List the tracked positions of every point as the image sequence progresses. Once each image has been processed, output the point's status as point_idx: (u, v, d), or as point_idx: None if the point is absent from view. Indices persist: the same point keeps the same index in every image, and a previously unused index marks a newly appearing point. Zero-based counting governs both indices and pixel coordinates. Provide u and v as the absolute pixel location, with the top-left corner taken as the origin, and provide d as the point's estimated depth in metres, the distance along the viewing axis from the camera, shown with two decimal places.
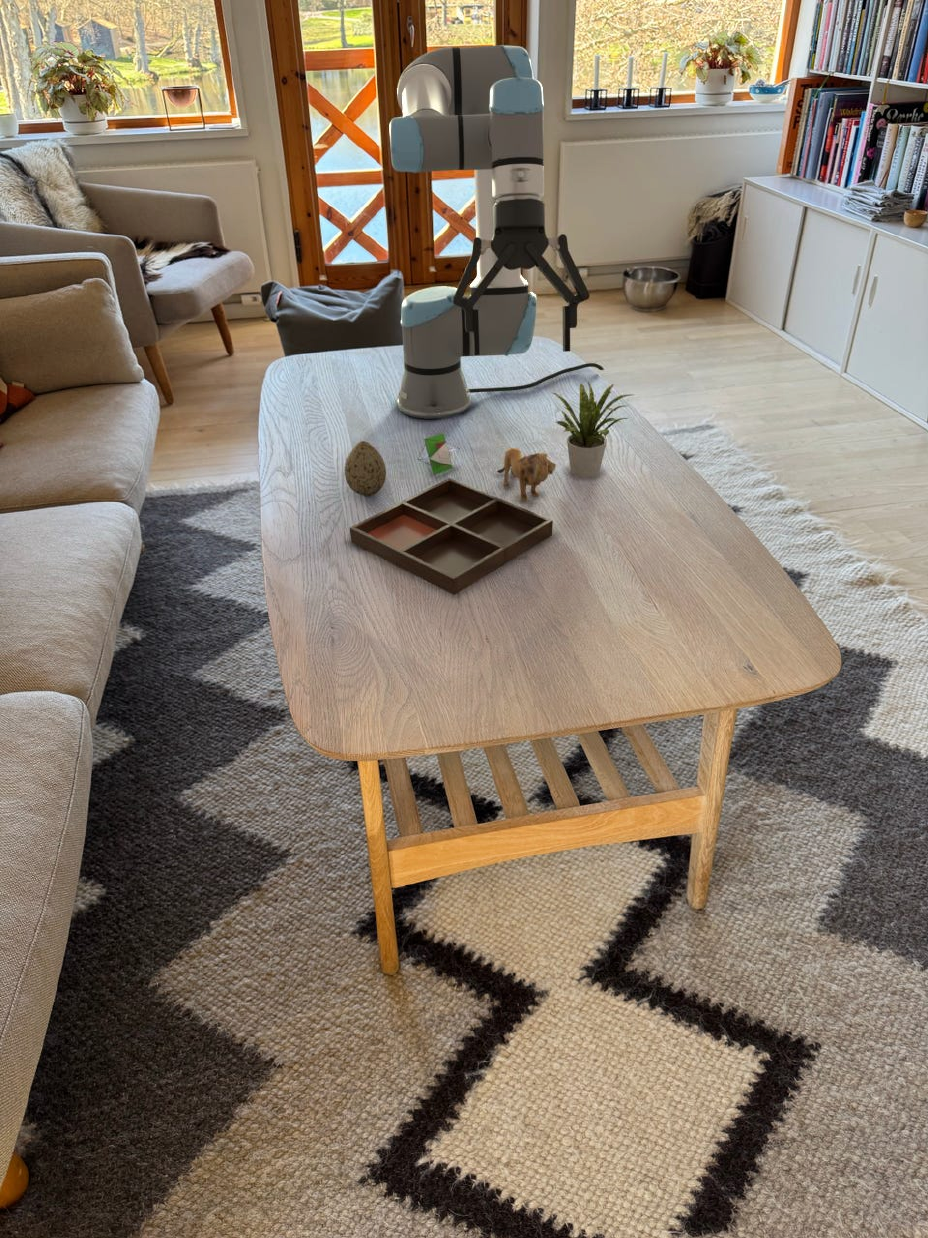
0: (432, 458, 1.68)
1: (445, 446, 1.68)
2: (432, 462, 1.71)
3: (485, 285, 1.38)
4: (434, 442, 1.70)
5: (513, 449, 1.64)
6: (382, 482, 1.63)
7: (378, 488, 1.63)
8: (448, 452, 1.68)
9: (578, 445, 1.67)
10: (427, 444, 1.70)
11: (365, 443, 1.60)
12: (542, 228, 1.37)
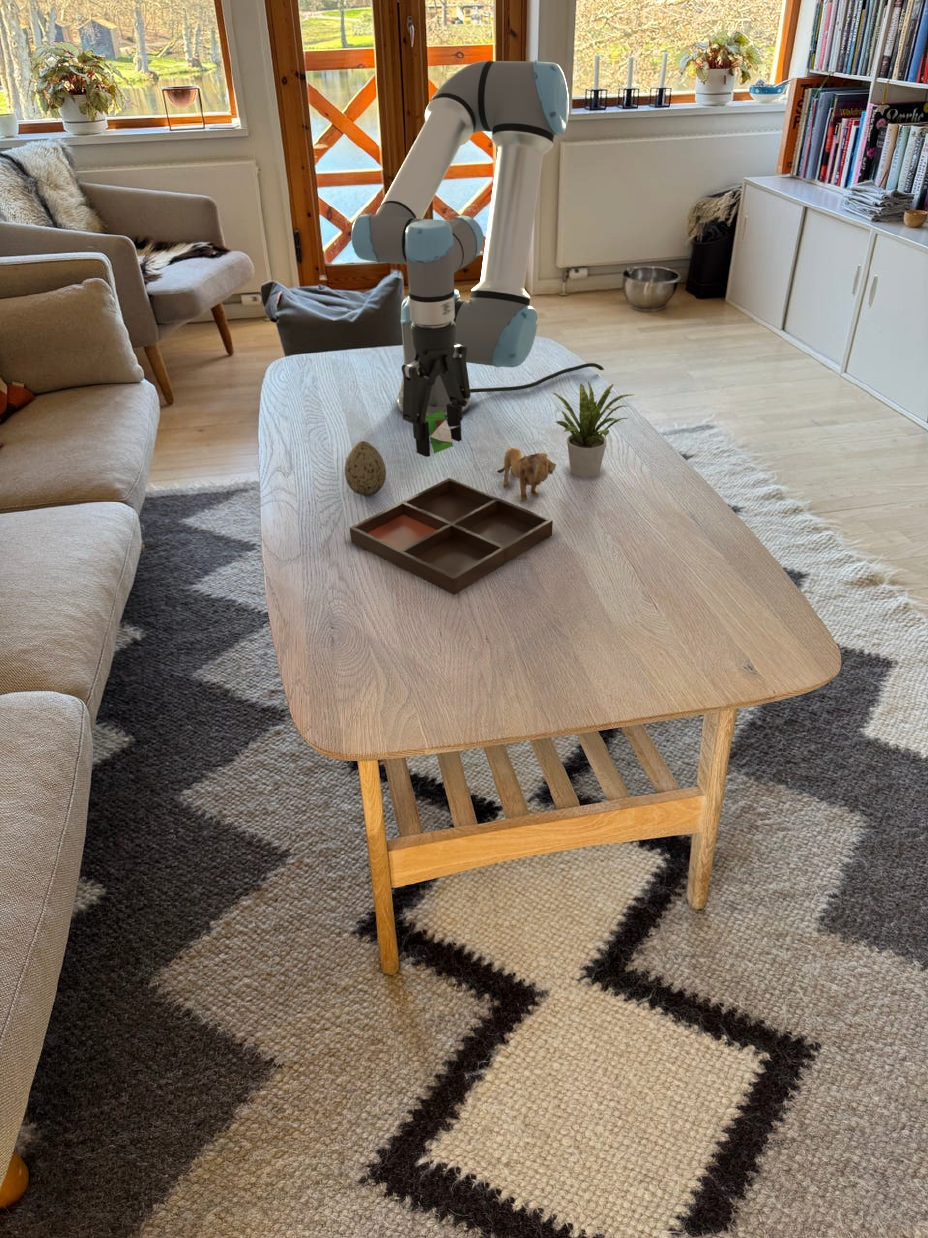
0: (432, 436, 1.66)
1: (445, 423, 1.66)
2: (432, 440, 1.69)
3: (427, 400, 1.62)
4: (433, 420, 1.68)
5: (513, 449, 1.64)
6: (382, 482, 1.63)
7: (378, 488, 1.63)
8: (448, 429, 1.66)
9: (578, 445, 1.67)
10: None
11: (365, 443, 1.60)
12: None
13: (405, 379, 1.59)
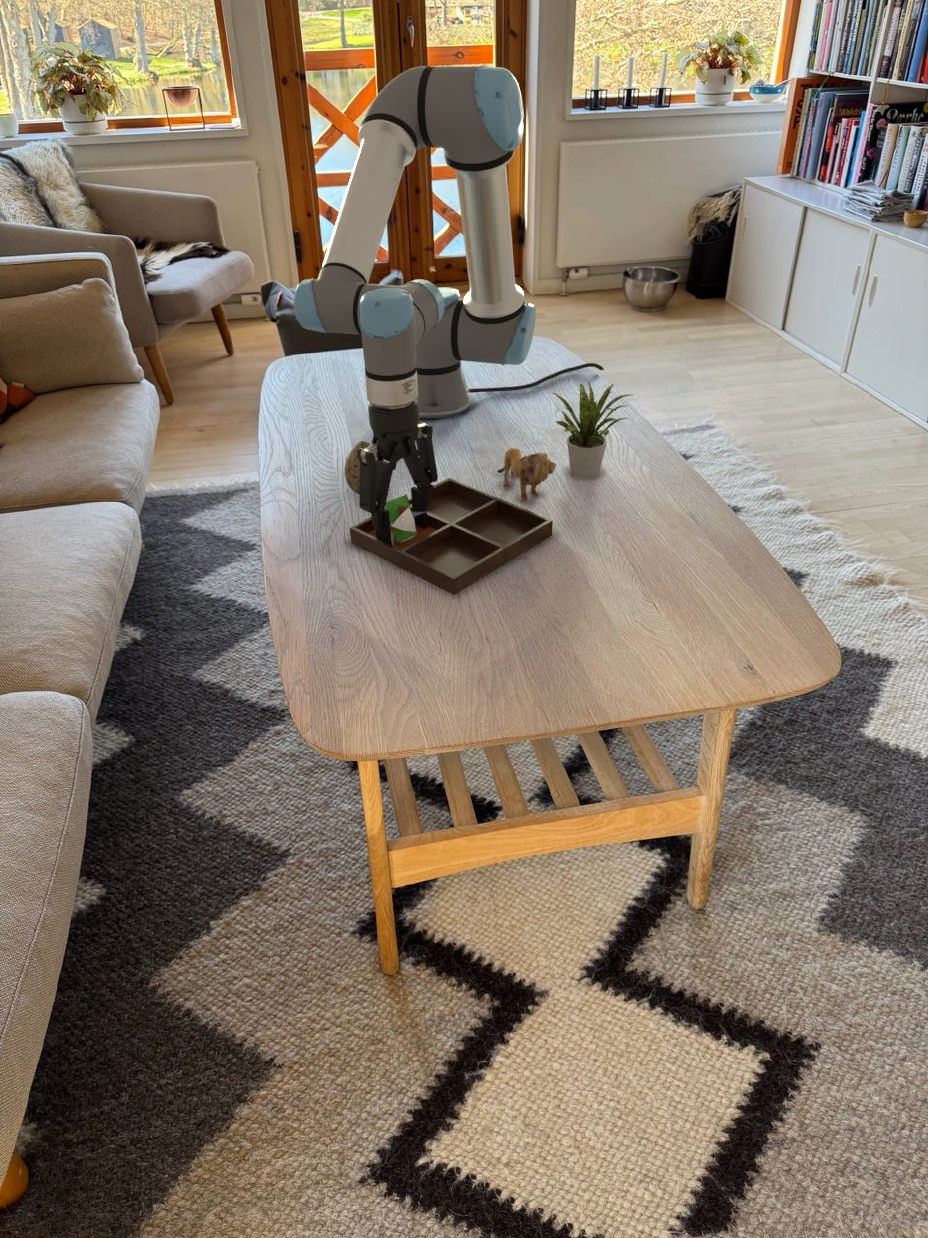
0: (393, 525, 1.47)
1: (408, 511, 1.47)
2: (394, 528, 1.50)
3: (387, 486, 1.43)
4: (396, 506, 1.49)
5: (513, 449, 1.64)
6: None
7: None
8: (412, 518, 1.47)
9: (578, 445, 1.67)
10: (388, 508, 1.49)
11: (365, 443, 1.60)
12: None
13: (361, 465, 1.40)
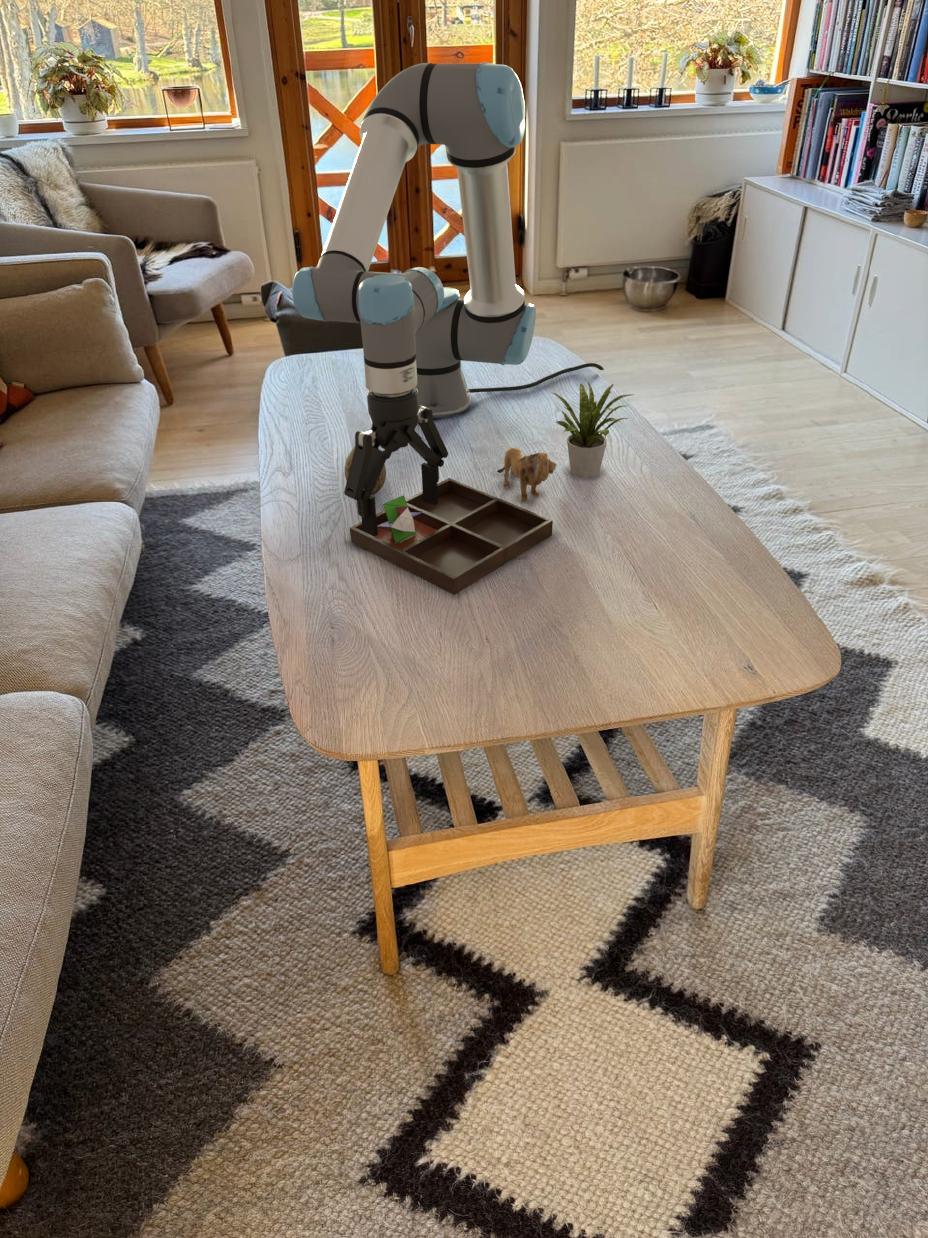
0: (393, 526, 1.47)
1: (407, 512, 1.47)
2: (392, 529, 1.50)
3: (377, 474, 1.41)
4: (393, 506, 1.49)
5: (513, 449, 1.64)
6: (382, 482, 1.63)
7: (378, 488, 1.63)
8: (411, 518, 1.47)
9: (578, 445, 1.67)
10: (386, 509, 1.49)
11: None
12: None
13: (356, 448, 1.38)
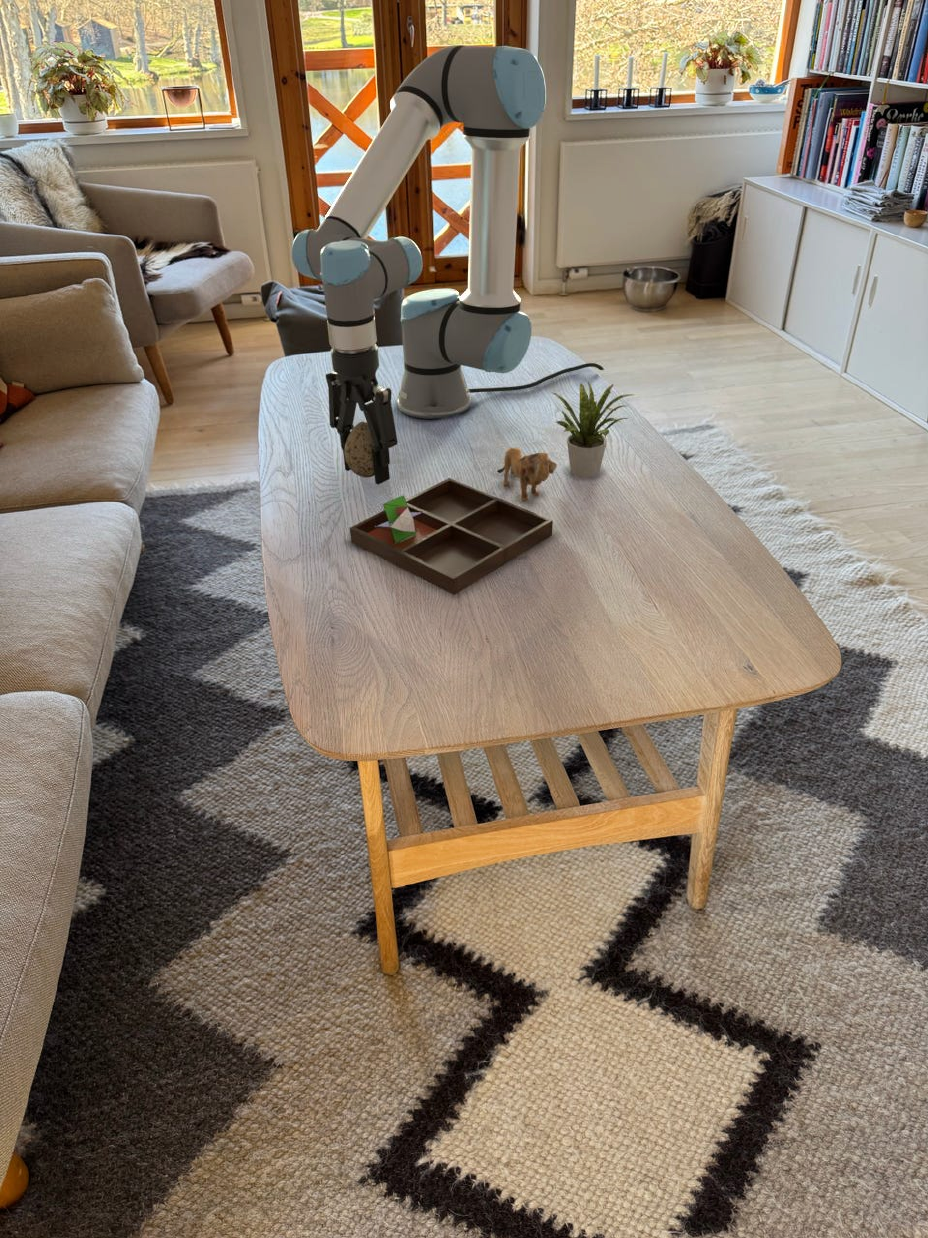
0: (393, 526, 1.47)
1: (407, 512, 1.47)
2: (393, 529, 1.50)
3: None
4: (393, 506, 1.49)
5: (513, 449, 1.64)
6: None
7: None
8: (411, 518, 1.47)
9: (578, 445, 1.67)
10: (386, 509, 1.49)
11: (365, 424, 1.58)
12: None
13: (382, 406, 1.52)
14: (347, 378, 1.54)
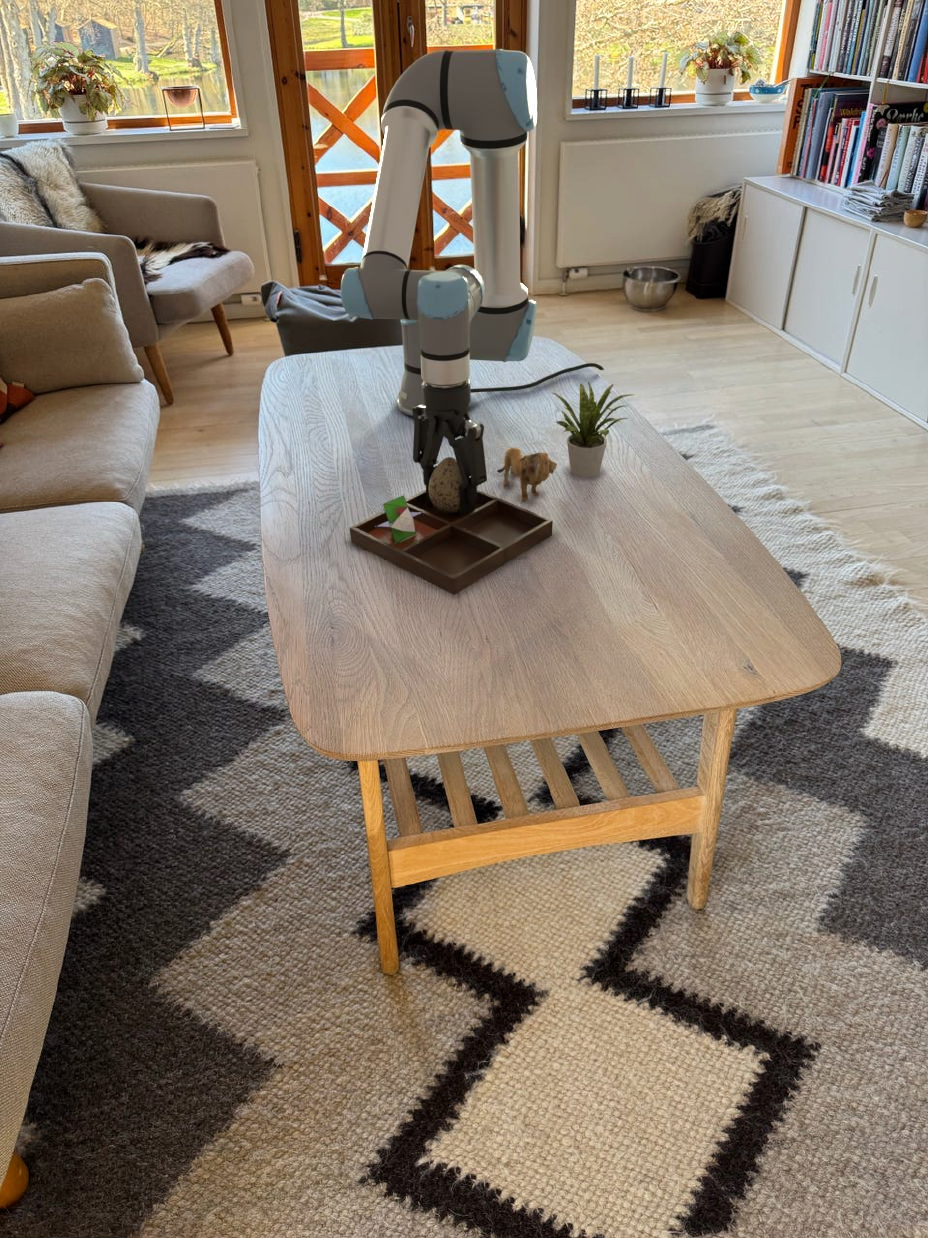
0: (393, 526, 1.47)
1: (407, 512, 1.47)
2: (392, 529, 1.50)
3: None
4: (393, 506, 1.49)
5: (513, 449, 1.64)
6: None
7: None
8: (411, 518, 1.47)
9: (578, 445, 1.67)
10: (386, 509, 1.49)
11: (452, 459, 1.53)
12: None
13: (474, 442, 1.46)
14: (437, 413, 1.49)
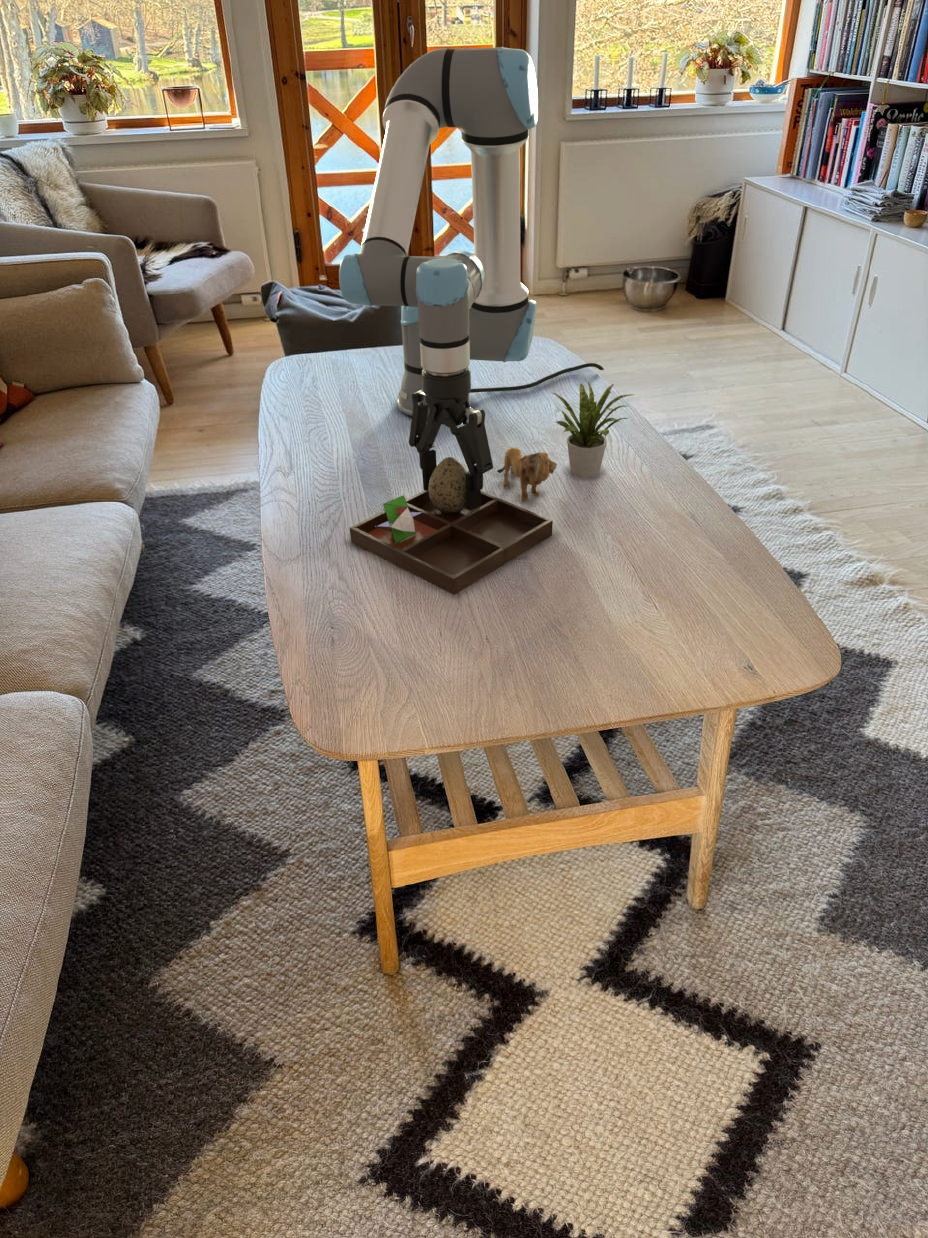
0: (393, 526, 1.47)
1: (407, 512, 1.47)
2: (393, 529, 1.50)
3: None
4: (393, 506, 1.49)
5: (513, 449, 1.64)
6: None
7: (464, 506, 1.56)
8: (411, 518, 1.47)
9: (578, 445, 1.67)
10: (386, 509, 1.49)
11: (452, 459, 1.53)
12: None
13: (476, 429, 1.45)
14: (437, 401, 1.48)
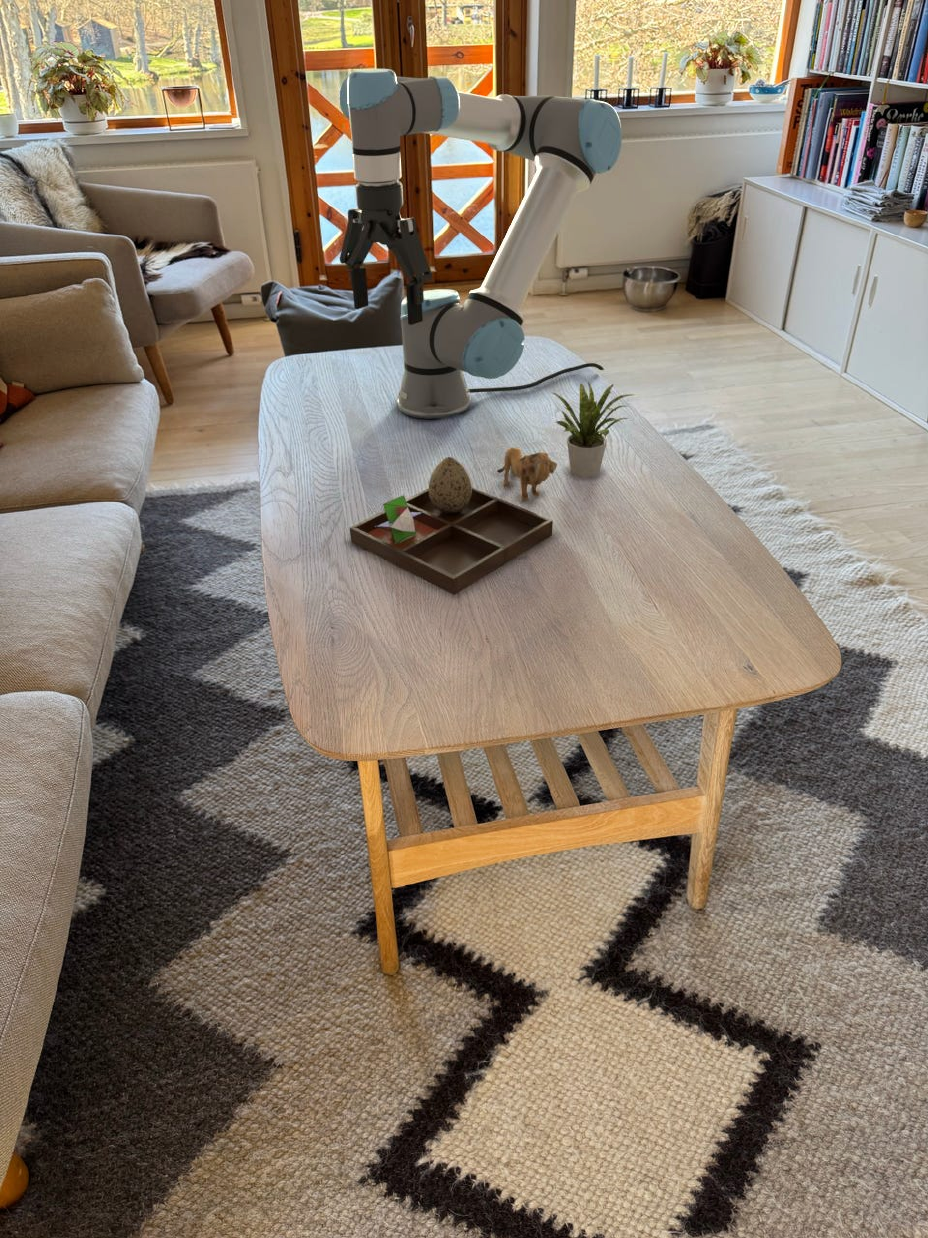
0: (393, 526, 1.47)
1: (407, 512, 1.47)
2: (393, 529, 1.50)
3: None
4: (393, 506, 1.49)
5: (513, 449, 1.64)
6: (468, 500, 1.56)
7: (464, 506, 1.56)
8: (411, 518, 1.47)
9: (578, 445, 1.67)
10: (386, 509, 1.49)
11: (452, 459, 1.53)
12: None
13: (408, 235, 1.50)
14: (371, 217, 1.54)
